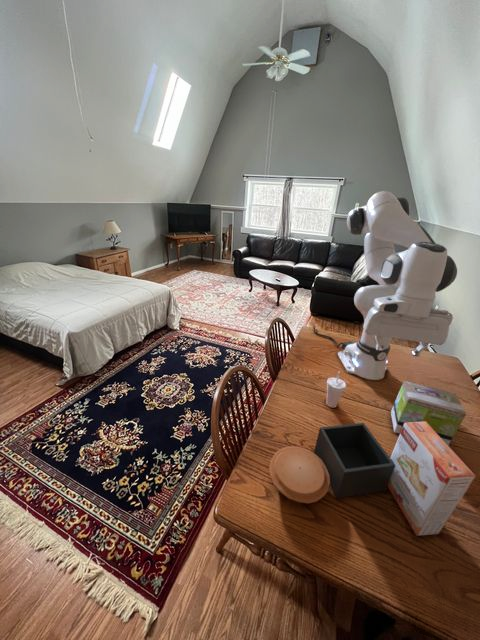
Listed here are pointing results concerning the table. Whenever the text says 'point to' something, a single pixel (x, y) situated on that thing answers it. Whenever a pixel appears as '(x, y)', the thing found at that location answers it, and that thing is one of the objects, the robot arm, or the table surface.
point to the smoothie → (334, 390)
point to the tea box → (428, 409)
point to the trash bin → (353, 459)
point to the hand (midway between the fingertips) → (396, 352)
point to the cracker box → (426, 478)
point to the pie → (299, 474)
